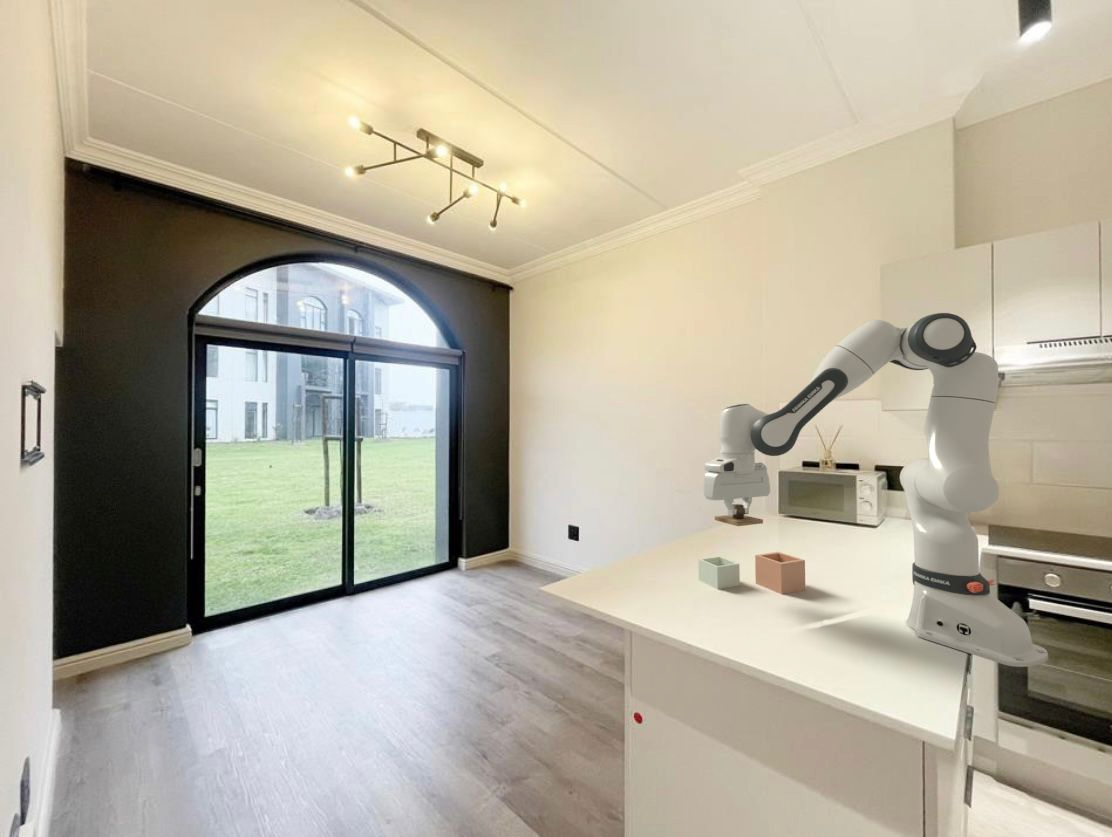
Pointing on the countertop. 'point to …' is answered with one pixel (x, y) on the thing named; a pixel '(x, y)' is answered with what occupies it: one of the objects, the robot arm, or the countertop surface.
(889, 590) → the countertop surface
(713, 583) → the tub
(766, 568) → the planter
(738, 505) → the lid
